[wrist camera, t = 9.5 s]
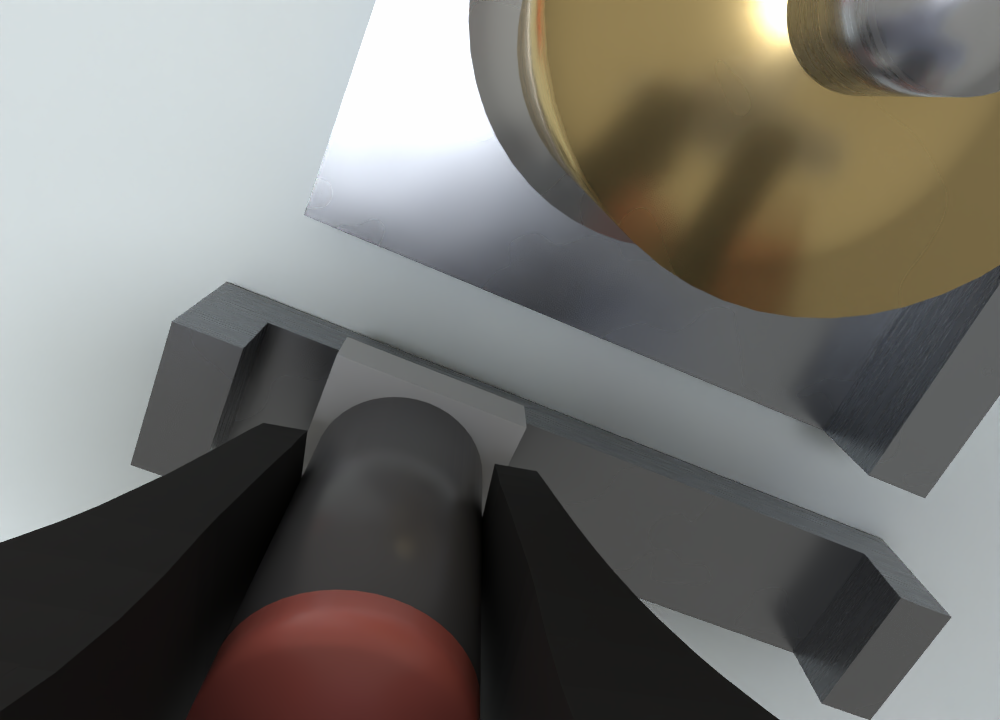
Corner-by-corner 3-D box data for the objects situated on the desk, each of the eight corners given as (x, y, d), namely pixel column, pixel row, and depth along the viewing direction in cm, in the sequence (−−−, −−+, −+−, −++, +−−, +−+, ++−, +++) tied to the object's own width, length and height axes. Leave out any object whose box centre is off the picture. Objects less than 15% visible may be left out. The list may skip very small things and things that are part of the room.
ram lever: (524, 405, 12) (559, 691, 6) (453, 551, 13) (429, 913, 7) (346, 337, 11) (209, 578, 6) (287, 492, 12) (120, 830, 7)
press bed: (1242, -180, 10) (1476, -264, 8) (846, 425, 13) (925, 498, 11) (591, -593, 8) (633, -860, 6) (318, 205, 11) (276, 234, 9)
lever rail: (882, 539, 14) (951, 617, 12) (815, 632, 15) (869, 720, 13) (226, 282, 12) (172, 321, 10) (188, 404, 13) (130, 465, 11)
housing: (755, 260, 11) (1078, 464, 5) (469, 146, 10) (443, 224, 4) (921, -64, 9) (1672, -333, 3) (599, -221, 9) (835, -881, 3)
